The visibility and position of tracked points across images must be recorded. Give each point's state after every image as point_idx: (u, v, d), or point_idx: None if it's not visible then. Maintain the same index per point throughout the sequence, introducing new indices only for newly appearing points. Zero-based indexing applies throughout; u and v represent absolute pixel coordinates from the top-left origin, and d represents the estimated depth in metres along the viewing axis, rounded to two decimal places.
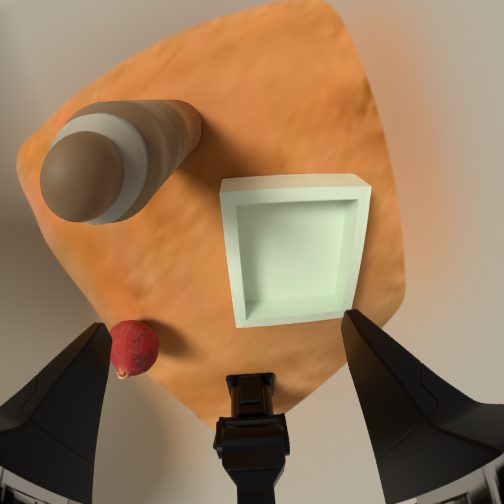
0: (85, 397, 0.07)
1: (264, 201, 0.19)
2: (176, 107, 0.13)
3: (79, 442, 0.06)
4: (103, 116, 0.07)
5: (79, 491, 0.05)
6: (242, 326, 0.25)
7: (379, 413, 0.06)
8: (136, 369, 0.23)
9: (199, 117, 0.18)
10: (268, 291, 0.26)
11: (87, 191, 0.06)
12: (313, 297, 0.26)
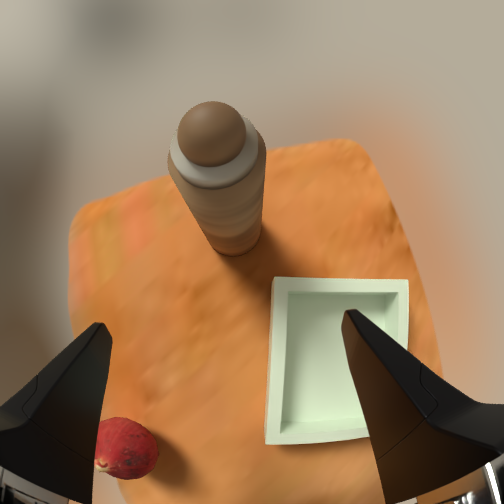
0: (85, 397, 0.07)
1: (315, 289, 0.19)
2: None
3: (79, 442, 0.06)
4: None
5: (79, 491, 0.05)
6: (273, 442, 0.17)
7: (379, 413, 0.06)
8: (122, 467, 0.13)
9: None
10: (305, 409, 0.19)
11: (229, 121, 0.10)
12: (354, 418, 0.19)
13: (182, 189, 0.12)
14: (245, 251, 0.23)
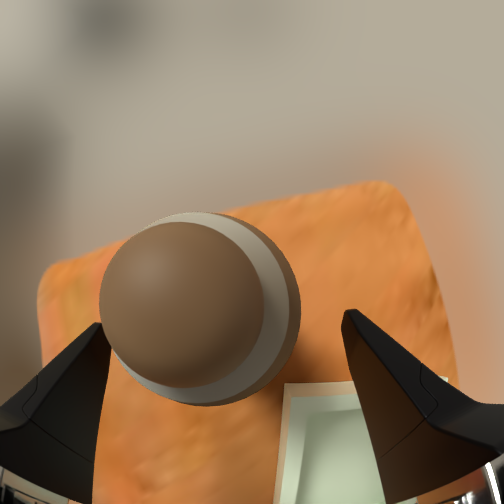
0: (85, 397, 0.07)
1: (341, 408, 0.13)
2: None
3: (79, 442, 0.06)
4: (240, 225, 0.06)
5: (79, 491, 0.05)
6: None
7: (379, 413, 0.06)
8: None
9: None
10: None
11: (219, 325, 0.04)
12: None
13: None
14: None
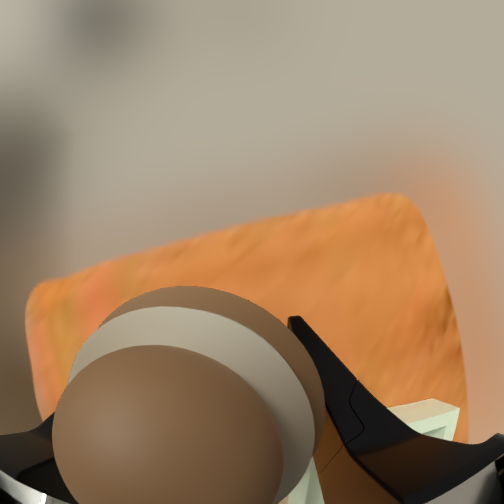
0: None
1: None
2: None
3: None
4: (246, 330, 0.04)
5: None
6: None
7: None
8: None
9: None
10: None
11: None
12: None
13: None
14: None
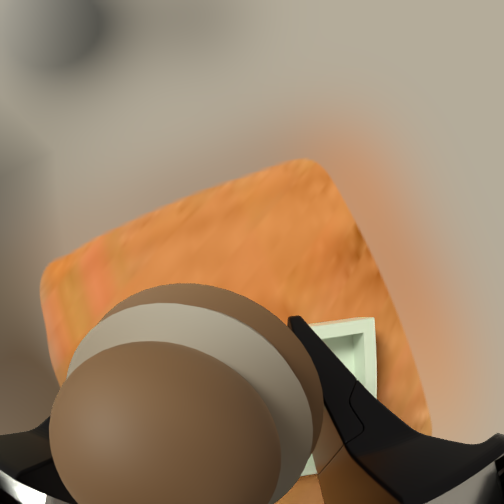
0: None
1: None
2: None
3: None
4: (244, 327, 0.04)
5: None
6: None
7: None
8: None
9: None
10: None
11: None
12: None
13: None
14: None
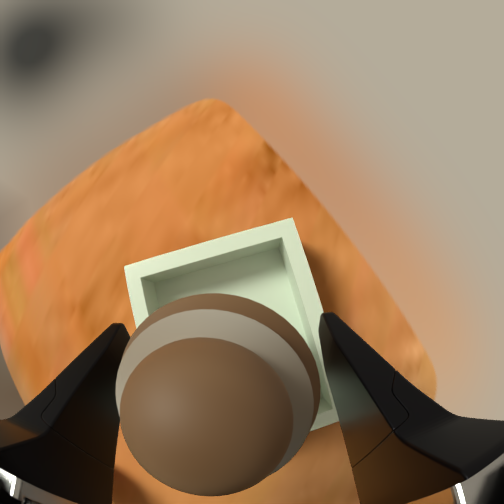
0: (106, 401, 0.07)
1: (169, 267, 0.16)
2: None
3: (99, 447, 0.06)
4: (264, 325, 0.05)
5: (99, 498, 0.05)
6: None
7: (352, 420, 0.06)
8: None
9: None
10: None
11: (258, 465, 0.03)
12: None
13: None
14: None
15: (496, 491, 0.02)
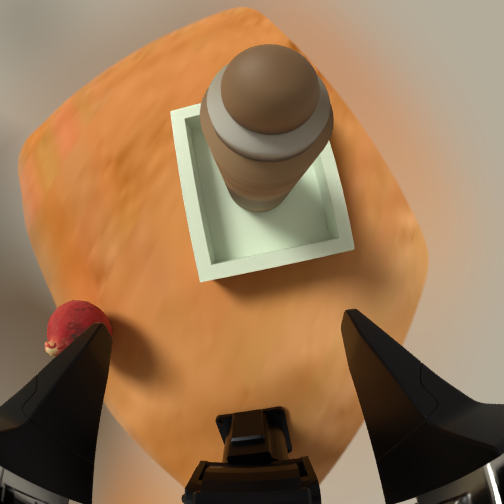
0: (85, 397, 0.07)
1: None
2: None
3: (79, 442, 0.06)
4: None
5: (79, 491, 0.05)
6: (208, 278, 0.18)
7: (379, 413, 0.06)
8: None
9: None
10: (241, 241, 0.21)
11: (305, 80, 0.06)
12: (302, 244, 0.21)
13: (220, 156, 0.09)
14: (271, 209, 0.20)
15: None
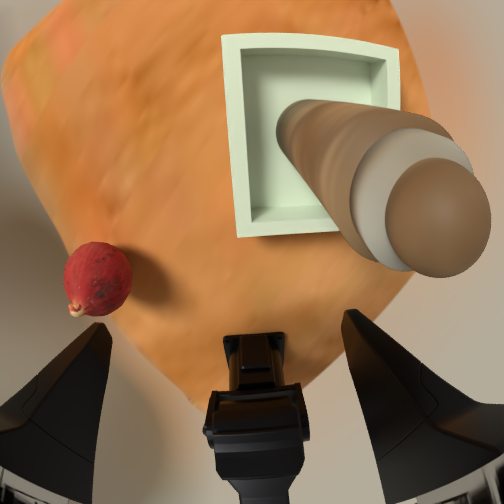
0: (85, 397, 0.07)
1: (276, 45, 0.12)
2: None
3: (78, 442, 0.06)
4: (470, 164, 0.05)
5: (79, 491, 0.05)
6: (246, 234, 0.18)
7: (379, 413, 0.06)
8: (96, 303, 0.17)
9: None
10: (280, 191, 0.19)
11: (477, 258, 0.05)
12: None
13: (346, 239, 0.08)
14: None
15: None
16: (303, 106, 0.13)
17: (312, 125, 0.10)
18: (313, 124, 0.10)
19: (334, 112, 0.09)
